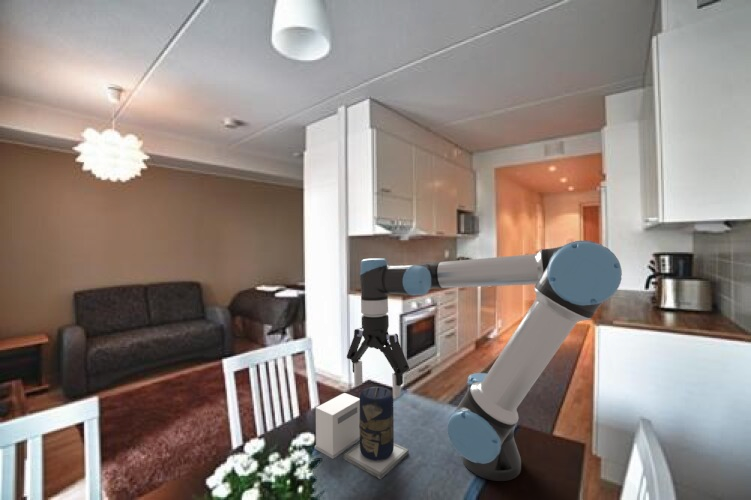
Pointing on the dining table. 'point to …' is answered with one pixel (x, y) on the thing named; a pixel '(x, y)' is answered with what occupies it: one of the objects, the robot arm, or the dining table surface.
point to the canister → (376, 423)
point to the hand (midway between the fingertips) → (376, 390)
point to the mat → (376, 466)
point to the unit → (337, 425)
